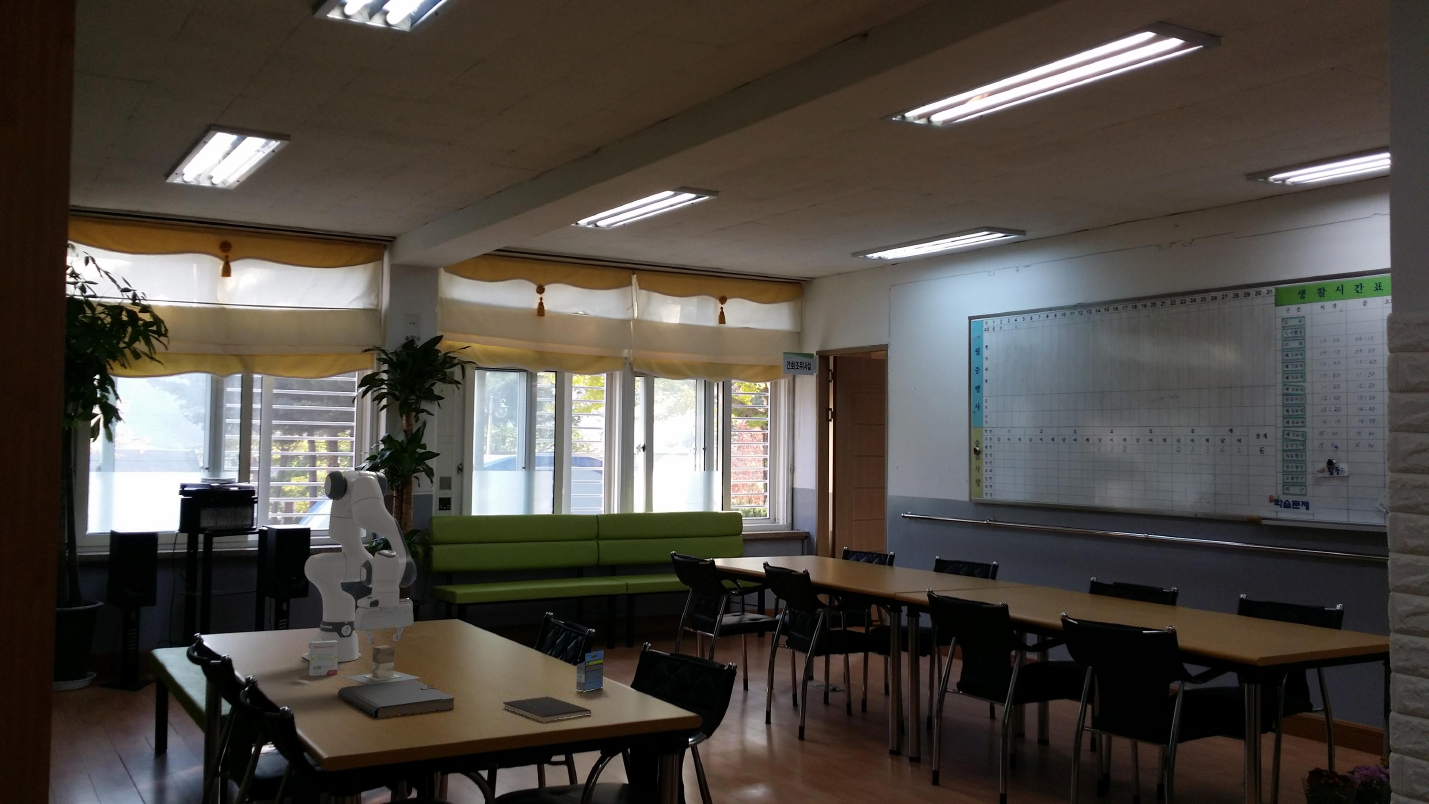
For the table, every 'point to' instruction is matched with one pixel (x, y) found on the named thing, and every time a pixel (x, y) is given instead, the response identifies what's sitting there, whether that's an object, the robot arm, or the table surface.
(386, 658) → the walnut block
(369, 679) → the board
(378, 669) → the birch block
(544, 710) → the hardcover book
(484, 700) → the table surface
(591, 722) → the table surface
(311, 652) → the ink box
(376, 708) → the large dark grey book
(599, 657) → the blue grey product box
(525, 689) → the table surface
